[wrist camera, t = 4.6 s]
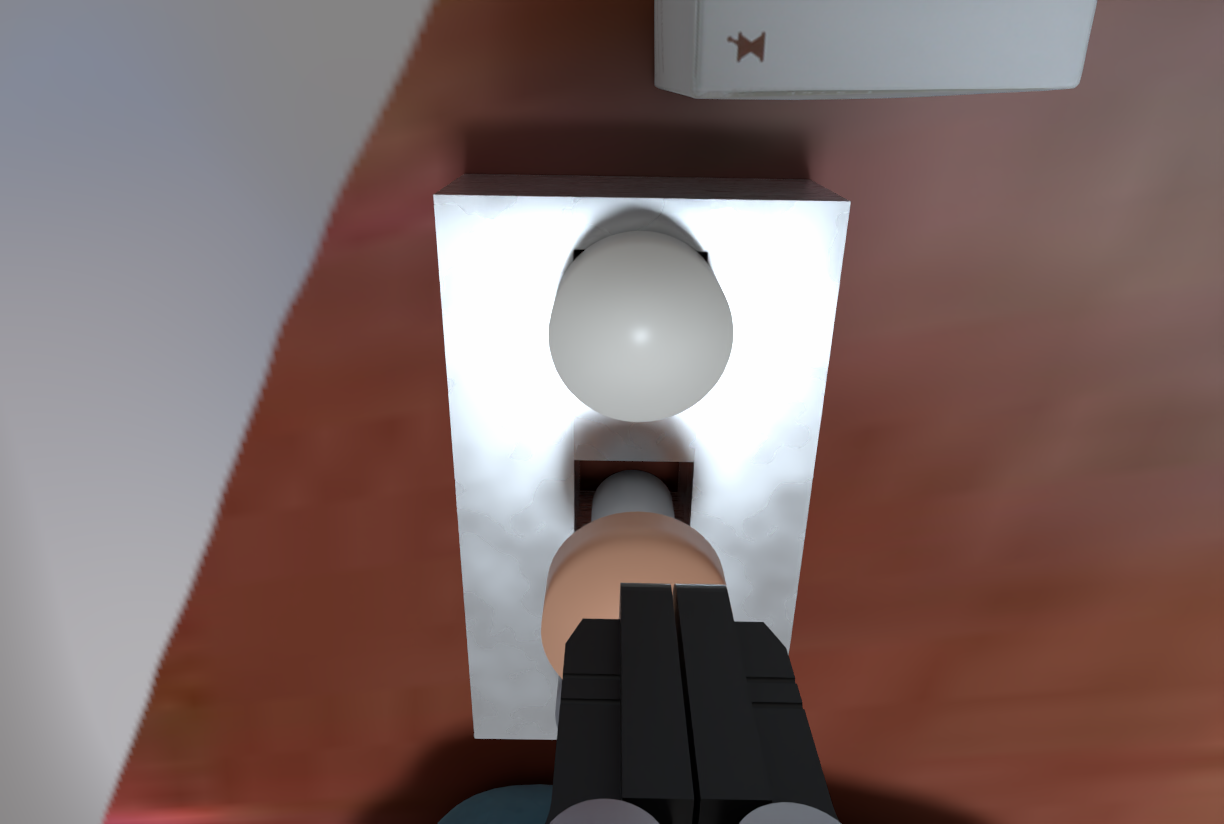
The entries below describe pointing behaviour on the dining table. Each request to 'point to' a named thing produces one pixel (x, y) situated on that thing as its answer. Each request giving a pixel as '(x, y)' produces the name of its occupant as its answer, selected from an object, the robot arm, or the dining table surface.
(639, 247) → the grey oval piece
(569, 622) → the tan egg
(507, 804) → the casserole dish
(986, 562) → the dining table surface
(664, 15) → the supplement box
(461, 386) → the mount
